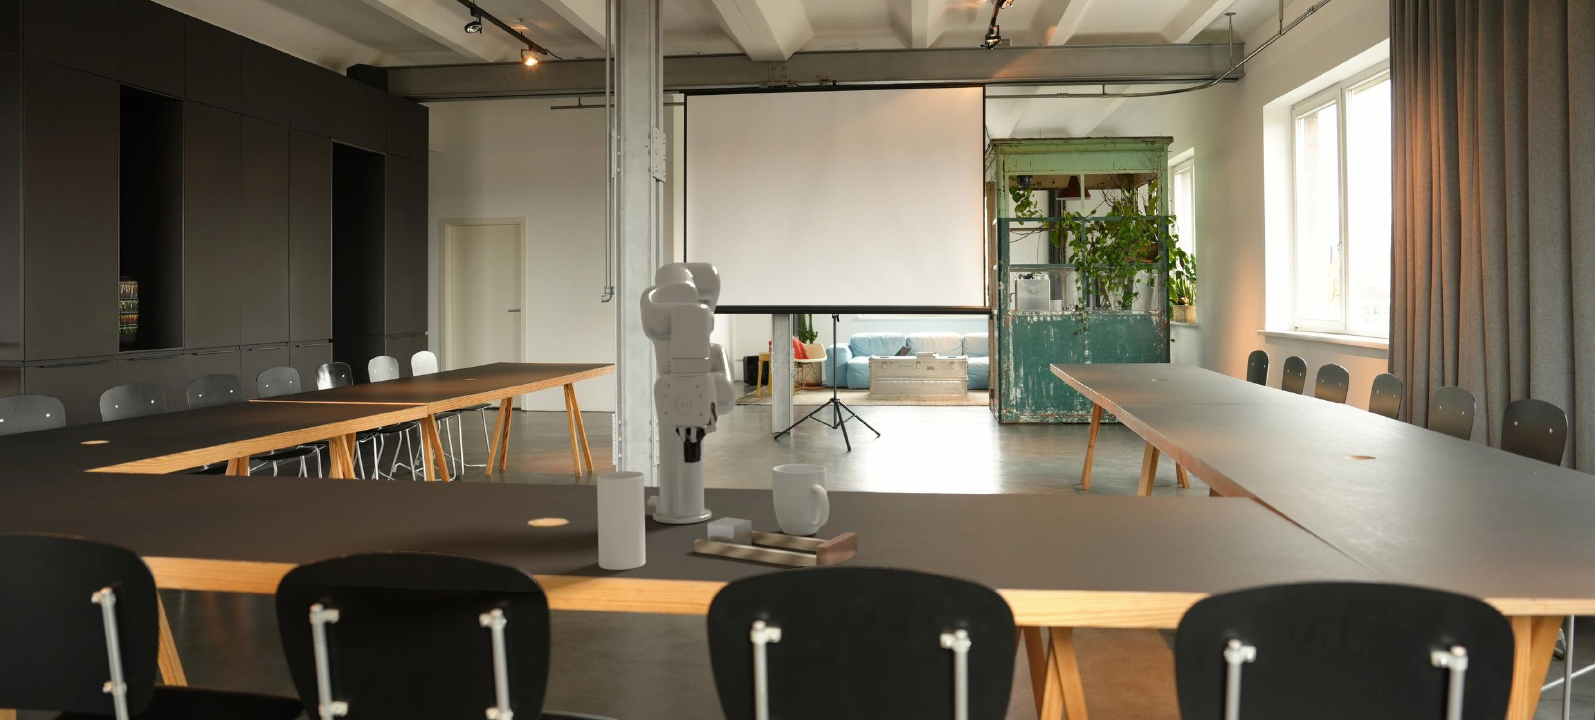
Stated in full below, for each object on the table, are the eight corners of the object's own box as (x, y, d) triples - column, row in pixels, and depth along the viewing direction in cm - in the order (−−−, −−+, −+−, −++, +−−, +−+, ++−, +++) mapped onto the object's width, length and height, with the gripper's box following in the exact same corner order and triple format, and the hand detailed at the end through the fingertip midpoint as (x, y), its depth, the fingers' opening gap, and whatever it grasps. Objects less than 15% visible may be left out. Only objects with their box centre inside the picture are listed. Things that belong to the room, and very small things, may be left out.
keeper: (707, 549, 181) (707, 523, 181) (725, 542, 186) (725, 516, 186) (734, 553, 178) (733, 526, 178) (751, 545, 183) (751, 520, 183)
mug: (849, 537, 189) (849, 471, 188) (803, 545, 183) (802, 477, 182) (807, 523, 201) (806, 461, 201) (762, 530, 195) (761, 467, 194)
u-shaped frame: (694, 551, 179) (693, 530, 179) (729, 537, 189) (729, 517, 189) (826, 570, 165) (826, 547, 165) (857, 554, 176) (857, 533, 175)
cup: (601, 558, 175) (599, 471, 174) (647, 556, 176) (645, 470, 175) (596, 570, 167) (594, 479, 166) (643, 568, 167) (642, 478, 167)
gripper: (647, 367, 185) (649, 462, 186) (711, 369, 178) (713, 467, 178) (671, 365, 191) (673, 457, 192) (733, 367, 184) (735, 461, 185)
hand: (692, 461), depth 185 cm, fingers closed
